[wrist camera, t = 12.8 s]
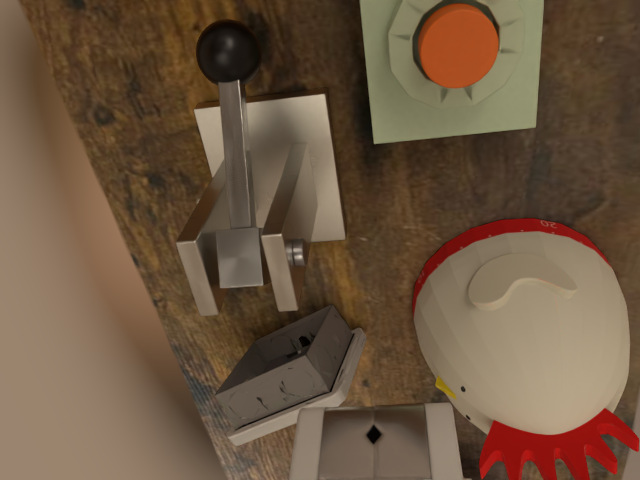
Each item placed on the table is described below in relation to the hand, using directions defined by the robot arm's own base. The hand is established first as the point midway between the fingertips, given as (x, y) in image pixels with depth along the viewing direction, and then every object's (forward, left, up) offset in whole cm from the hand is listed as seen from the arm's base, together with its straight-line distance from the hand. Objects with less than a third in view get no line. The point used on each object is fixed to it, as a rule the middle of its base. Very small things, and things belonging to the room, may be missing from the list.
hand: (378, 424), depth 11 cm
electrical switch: (+19, -8, -25) cm, 32 cm away
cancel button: (-2, +4, -21) cm, 21 cm away
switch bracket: (+5, -7, -25) cm, 26 cm away
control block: (-2, +4, -25) cm, 25 cm away
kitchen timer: (+17, +8, -25) cm, 31 cm away
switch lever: (+2, -7, -19) cm, 20 cm away
